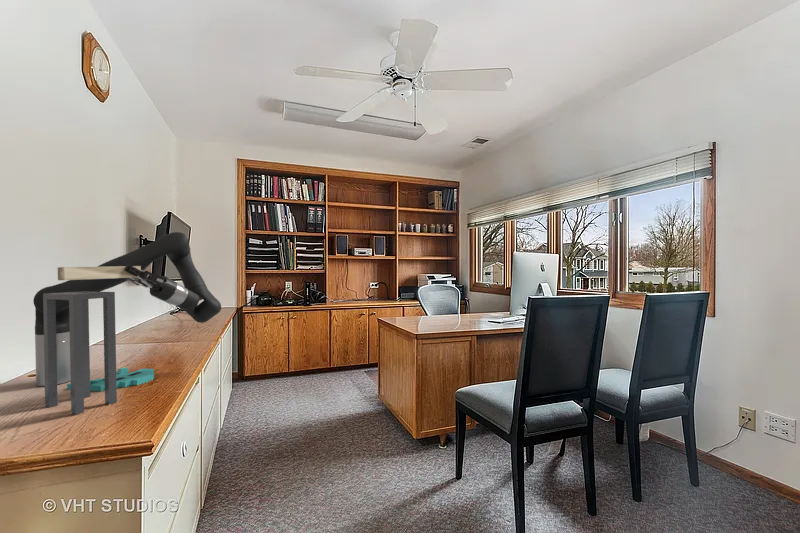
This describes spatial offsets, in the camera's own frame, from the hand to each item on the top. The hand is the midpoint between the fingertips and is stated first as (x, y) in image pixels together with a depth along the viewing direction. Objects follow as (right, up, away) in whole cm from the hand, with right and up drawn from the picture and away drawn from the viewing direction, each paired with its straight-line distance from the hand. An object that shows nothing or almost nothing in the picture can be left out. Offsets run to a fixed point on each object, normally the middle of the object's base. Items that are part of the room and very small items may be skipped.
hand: (122, 267), depth 119 cm
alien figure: (-9, -40, +12) cm, 43 cm away
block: (-2, -3, -5) cm, 6 cm away
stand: (-4, -39, -10) cm, 41 cm away
